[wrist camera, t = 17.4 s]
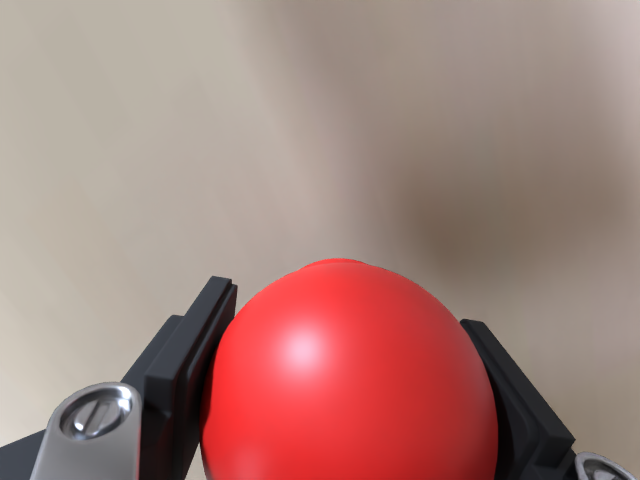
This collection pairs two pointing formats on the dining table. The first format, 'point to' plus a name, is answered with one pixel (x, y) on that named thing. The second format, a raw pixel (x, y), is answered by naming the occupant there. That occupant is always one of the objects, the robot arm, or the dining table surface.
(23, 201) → the dining table surface
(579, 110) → the dining table surface
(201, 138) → the dining table surface
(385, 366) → the apple
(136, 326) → the dining table surface
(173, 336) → the robot arm
